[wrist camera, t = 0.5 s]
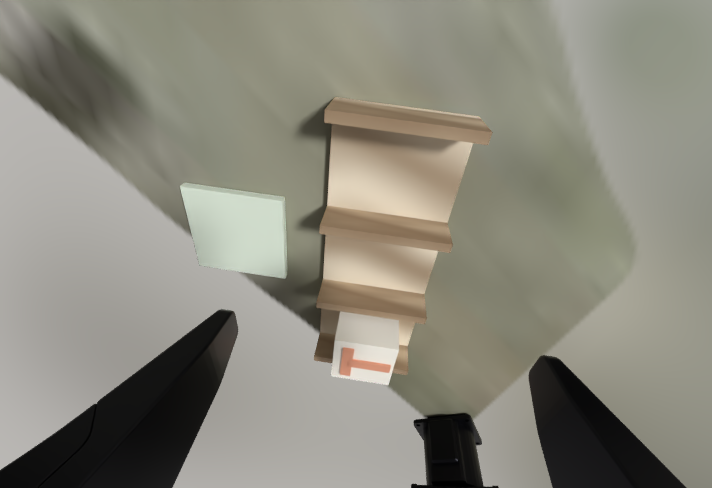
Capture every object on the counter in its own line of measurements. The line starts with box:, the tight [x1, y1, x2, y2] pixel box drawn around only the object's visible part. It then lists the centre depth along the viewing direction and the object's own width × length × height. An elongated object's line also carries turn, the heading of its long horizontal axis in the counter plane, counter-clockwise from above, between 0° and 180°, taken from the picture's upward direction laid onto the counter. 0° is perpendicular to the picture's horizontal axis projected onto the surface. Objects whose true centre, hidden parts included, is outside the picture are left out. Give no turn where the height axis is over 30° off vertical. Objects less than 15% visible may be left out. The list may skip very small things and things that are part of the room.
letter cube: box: [331, 311, 399, 385], centre depth 25 cm, size 4×4×5 cm
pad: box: [180, 183, 287, 279], centre depth 23 cm, size 7×7×1 cm
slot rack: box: [314, 97, 492, 375], centre depth 22 cm, size 20×8×3 cm, turn 174°
